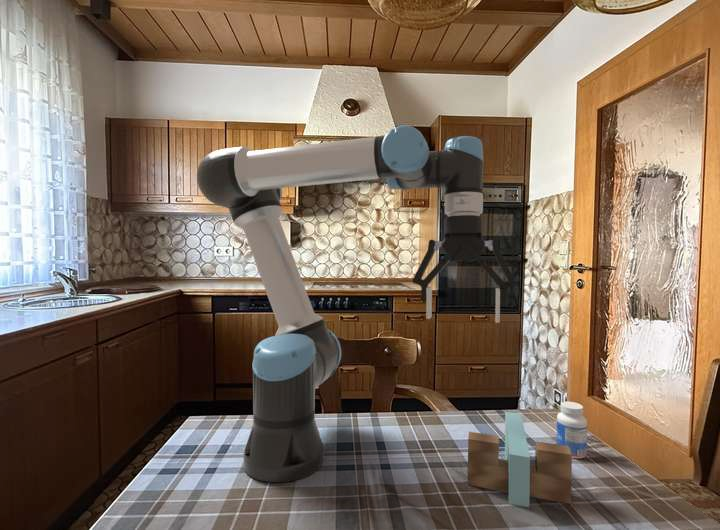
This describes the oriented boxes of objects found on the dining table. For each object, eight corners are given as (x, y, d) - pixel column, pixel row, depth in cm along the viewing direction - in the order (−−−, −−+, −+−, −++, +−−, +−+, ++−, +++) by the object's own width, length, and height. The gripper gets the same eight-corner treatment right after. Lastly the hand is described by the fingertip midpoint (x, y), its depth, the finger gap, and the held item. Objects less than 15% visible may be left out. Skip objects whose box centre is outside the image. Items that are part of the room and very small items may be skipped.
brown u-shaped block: (467, 484, 67) (468, 438, 67) (468, 475, 70) (469, 431, 69) (571, 504, 62) (571, 454, 61) (567, 493, 64) (568, 445, 64)
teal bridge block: (508, 503, 62) (509, 454, 62) (504, 450, 79) (505, 411, 79) (529, 507, 61) (530, 457, 61) (520, 453, 78) (521, 413, 78)
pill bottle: (555, 443, 82) (556, 398, 82) (584, 449, 80) (585, 402, 79) (557, 455, 77) (558, 407, 77) (588, 461, 75) (589, 411, 74)
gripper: (399, 215, 79) (398, 318, 79) (532, 211, 71) (530, 326, 71) (406, 219, 86) (406, 314, 86) (528, 216, 78) (526, 320, 78)
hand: (462, 319), depth 79 cm, fingers open, 13 cm apart
